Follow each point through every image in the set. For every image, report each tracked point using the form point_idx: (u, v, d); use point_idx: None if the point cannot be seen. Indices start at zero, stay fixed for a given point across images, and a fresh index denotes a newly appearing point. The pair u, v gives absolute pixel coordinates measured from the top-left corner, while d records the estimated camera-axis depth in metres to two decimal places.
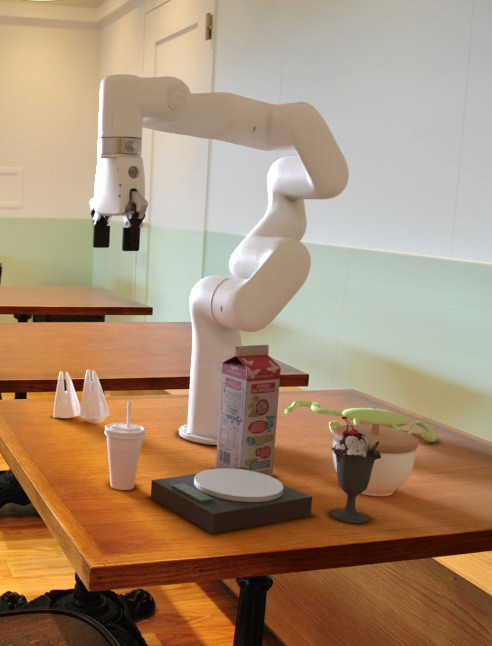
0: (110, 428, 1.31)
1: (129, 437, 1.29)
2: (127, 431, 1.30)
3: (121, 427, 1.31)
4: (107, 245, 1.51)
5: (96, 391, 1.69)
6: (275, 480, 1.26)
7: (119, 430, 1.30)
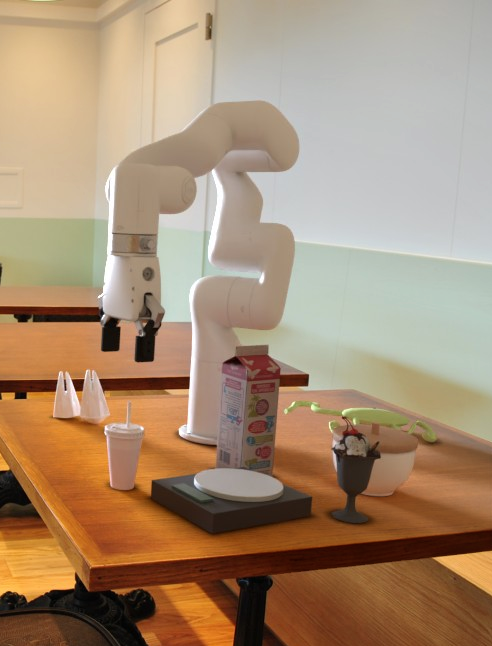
0: (110, 428, 1.31)
1: (129, 437, 1.29)
2: (127, 431, 1.30)
3: (121, 427, 1.31)
4: (117, 348, 1.34)
5: (97, 391, 1.69)
6: (275, 480, 1.26)
7: (119, 430, 1.30)
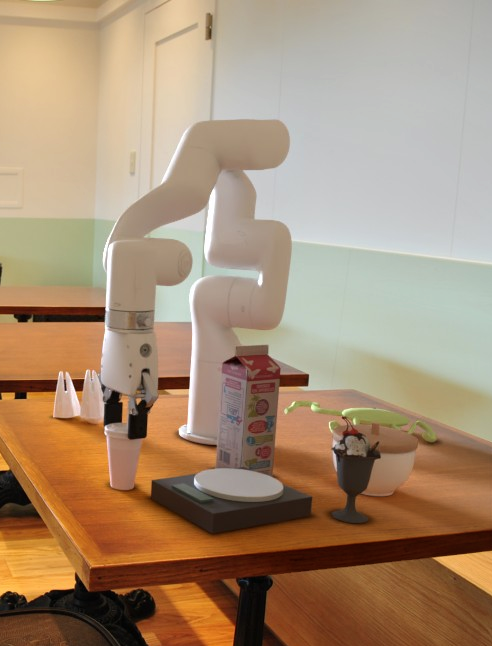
0: (110, 428, 1.31)
1: None
2: (127, 431, 1.30)
3: (121, 427, 1.31)
4: None
5: (97, 391, 1.69)
6: (275, 480, 1.26)
7: (119, 430, 1.30)
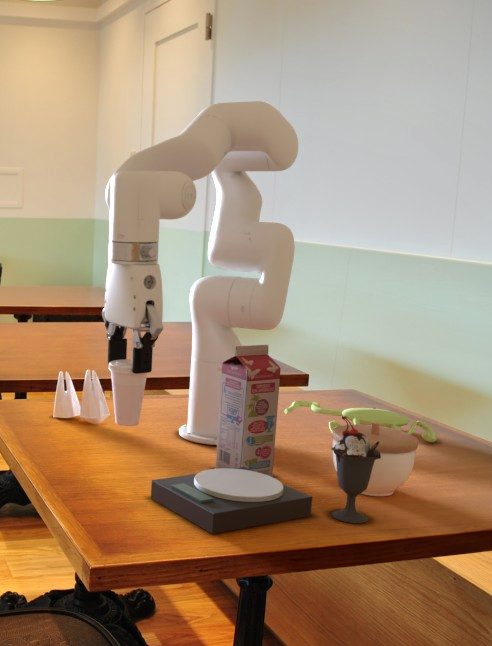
0: (114, 364, 1.30)
1: None
2: (131, 366, 1.28)
3: (125, 363, 1.30)
4: None
5: (97, 391, 1.69)
6: (275, 480, 1.26)
7: (123, 365, 1.29)
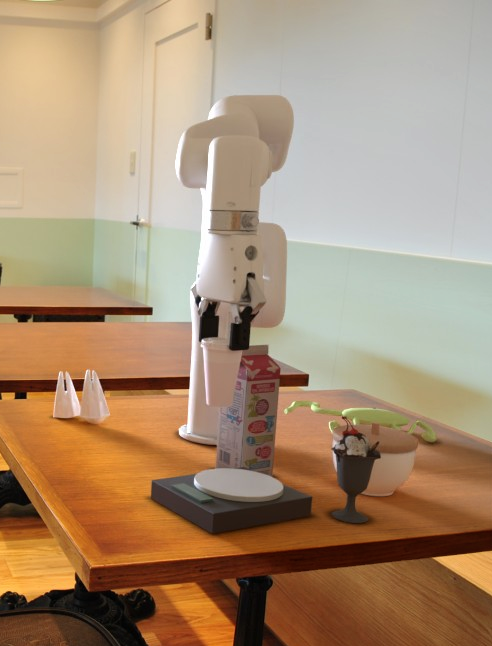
0: (208, 341, 1.23)
1: None
2: (227, 343, 1.21)
3: (219, 340, 1.23)
4: None
5: (97, 391, 1.69)
6: (275, 480, 1.26)
7: (218, 342, 1.22)
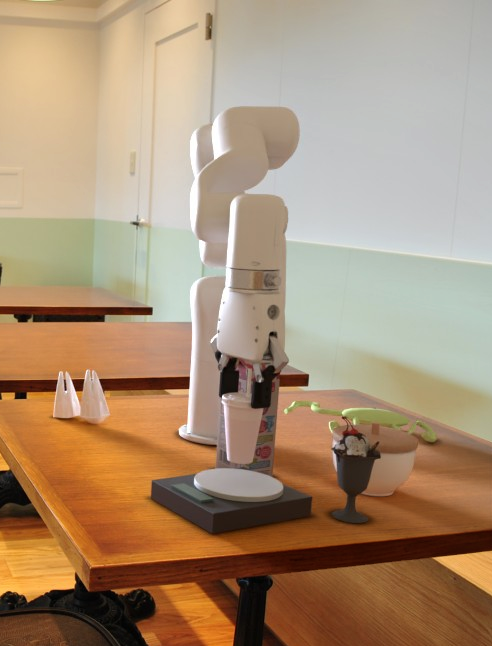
0: (229, 397, 1.23)
1: None
2: (248, 400, 1.21)
3: (240, 396, 1.22)
4: None
5: (97, 391, 1.69)
6: (275, 480, 1.26)
7: (239, 399, 1.21)
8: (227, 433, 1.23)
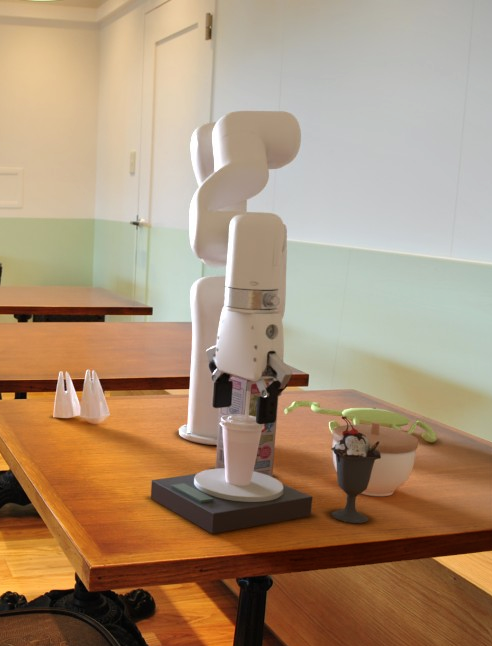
0: (227, 420, 1.23)
1: (250, 429, 1.21)
2: (247, 423, 1.22)
3: (239, 419, 1.23)
4: (229, 404, 1.28)
5: (97, 391, 1.69)
6: (275, 480, 1.26)
7: (238, 422, 1.22)
8: (225, 455, 1.24)
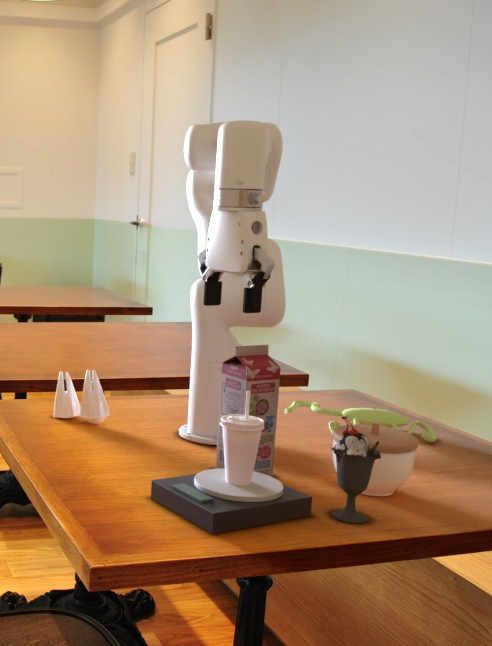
0: (227, 420, 1.23)
1: (250, 429, 1.21)
2: (247, 423, 1.22)
3: (239, 419, 1.23)
4: (218, 302, 1.39)
5: (97, 391, 1.69)
6: (275, 480, 1.26)
7: (238, 422, 1.22)
8: (225, 455, 1.24)
